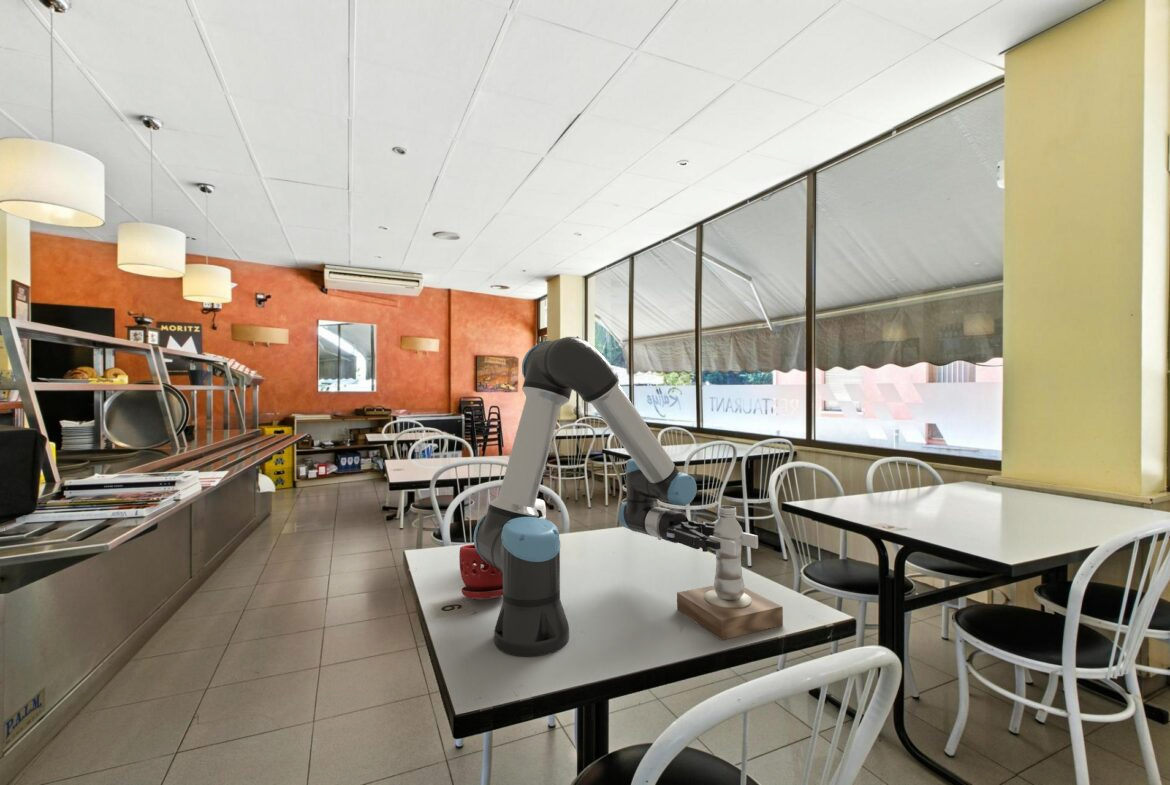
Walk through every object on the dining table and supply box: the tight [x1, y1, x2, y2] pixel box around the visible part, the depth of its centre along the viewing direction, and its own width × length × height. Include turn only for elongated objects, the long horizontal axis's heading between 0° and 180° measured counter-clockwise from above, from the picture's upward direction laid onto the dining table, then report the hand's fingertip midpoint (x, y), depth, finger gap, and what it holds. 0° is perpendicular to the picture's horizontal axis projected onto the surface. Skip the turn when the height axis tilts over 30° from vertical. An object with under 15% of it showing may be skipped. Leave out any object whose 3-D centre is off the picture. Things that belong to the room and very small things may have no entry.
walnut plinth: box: [676, 585, 784, 641], centre depth 113 cm, size 16×16×4 cm
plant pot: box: [458, 543, 503, 601], centre depth 126 cm, size 13×13×12 cm
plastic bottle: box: [713, 505, 745, 600], centre depth 113 cm, size 6×7×20 cm
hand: (745, 545), depth 109 cm, fingers open, 7 cm apart
